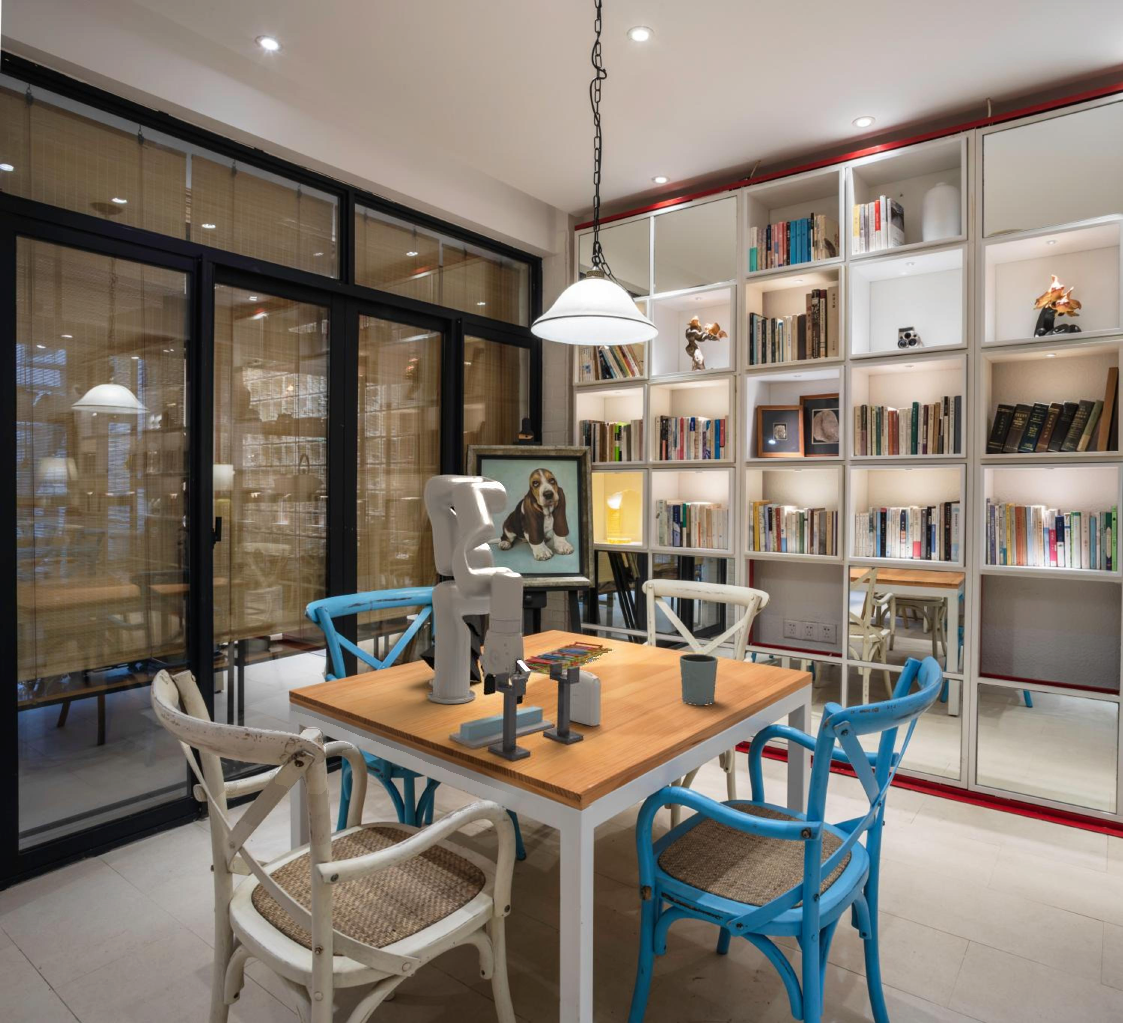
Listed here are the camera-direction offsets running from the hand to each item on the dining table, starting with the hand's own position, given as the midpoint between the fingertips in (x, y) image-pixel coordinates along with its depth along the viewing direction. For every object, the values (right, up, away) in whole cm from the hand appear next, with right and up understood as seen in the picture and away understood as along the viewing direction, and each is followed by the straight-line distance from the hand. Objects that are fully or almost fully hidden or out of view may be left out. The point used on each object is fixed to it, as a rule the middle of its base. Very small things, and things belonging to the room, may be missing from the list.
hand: (502, 699), depth 172 cm
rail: (0, -7, 0) cm, 7 cm away
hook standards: (+8, -8, -9) cm, 14 cm away
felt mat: (0, -8, -1) cm, 8 cm away
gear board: (+15, -7, +80) cm, 81 cm away
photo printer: (+18, -8, +9) cm, 22 cm away
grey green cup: (+51, -8, +29) cm, 59 cm away
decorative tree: (-16, -7, +48) cm, 51 cm away
